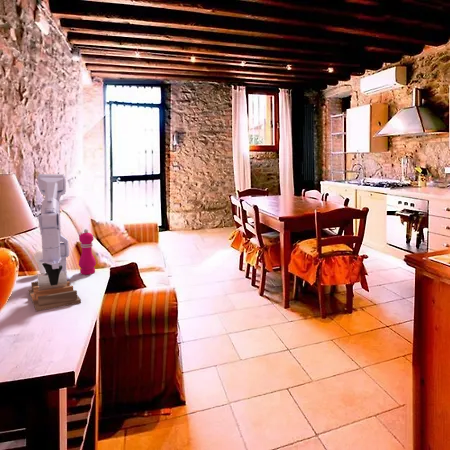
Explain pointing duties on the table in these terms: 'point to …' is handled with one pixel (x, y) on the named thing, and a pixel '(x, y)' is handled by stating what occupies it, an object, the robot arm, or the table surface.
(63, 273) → the wooden block
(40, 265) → the lightbulb
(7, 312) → the table surface
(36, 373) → the table surface
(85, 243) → the pepper mill
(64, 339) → the table surface
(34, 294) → the rack
